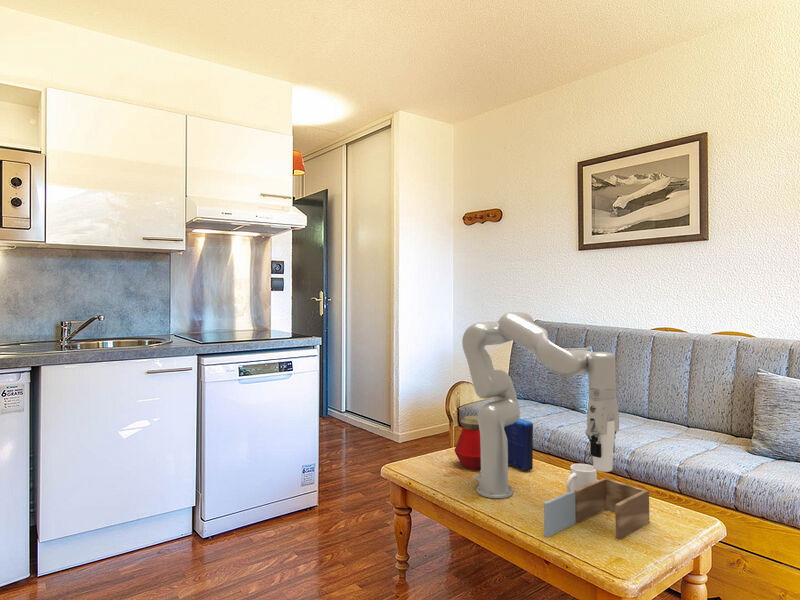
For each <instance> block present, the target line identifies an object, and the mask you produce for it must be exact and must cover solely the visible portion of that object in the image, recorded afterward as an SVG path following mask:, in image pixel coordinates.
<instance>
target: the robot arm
mask: <svg viewBox="0 0 800 600" xmlns="http://www.w3.org/2000/svg"><path fill="white" fill-rule="evenodd" d="M512 341H513V342H515V343H517V344H519V345H520V346H522V347H524V348H526V349H527V350H528V351H529V352H532V354H533V355H534V357H535V358H536V359H537V360H538V361H539V362H540V363H541V364H542V365H544V366H545V367H547V368H548V369H550V370H551V371H553V372H555V373H558V374H560V376H565V377H575V376H577V375H578V376H579V375H584V374H588V375H587V377H588V379H587V380H588V403H587V411H586V412H587V413H586V414H587V415H586V427H587V428H586V429H585V432H584V434H585V435H586V437H587V439H588V442H589V443H590V446H589V447H590V449H589V450H590V456H592V457H593V456H594V457H598V458H601V444H599V443H600V439H601V436H600V434H601V435H606V434H607V422H609V421H613V420H614V423H615V435H616V434H617V432H618V431H619V429H620V416H619V414H620V413H619V404H618V401H617V389H616V388H617V386H616V385H617V384H616V381H617V380H616V368H617V367H616V356H615V355H614V354H613V353H612V352H607V351H590V350H586V349H574V350H566V349H564V348H562V347H560V346H558V345H557V344H555V343H553V342H552V341H551V340H550V339H549V333H548V331H547V329H545V328H544V327H542V326H539V324H536V323H535V320H534V319H533V317H532V316H531V314H528V313H527V312H523V311H518V312H517V311H516V312H515V311H513V312H507V313H504V314H503V315H502V316H500V317H499V319H498V320H495V321H480V322H476V323H473V324H471V325H470V326H467V328H466V330H465V331H464V333H463V335H462V340H461V344H462V351H463V353H464V355H465V359H466V361H467V364H468V365H467V366H468V369H469V372H470V373H469V374H470V377H471V380H472V384H473V385H472V386H473V387H474V388H473V389H474V391H475V394H476V396H477V397H479V398H480V399H483V400H484V399H493V401H489V402H486V403H484V404H483V405H481V407H480V408H479V409H478V412H477V418H478V424H479V430H480V447H481V469H480V473H479V472H478V473H477V474H476V475H475V476H474V477H473V480H474V481H476V482H478V485H477V486H476V492H477V493H478V494H479V495H480V496H482V497H484V498H490V499H506V498H509V497H511V496H512V495H513V494H514V489H513V487H511V486H510V485H509V465H508V441H507V436H506V433H505V430H504V427H506V426H509V425H512V424H514V423H515V422H517V421H518V419H520V416H521V410H520V404H519V401H518V397H517V393H516V390H515V386H514V383H513V380H512V378H511V376H510V375H509V374H508V373H507V372H506V371H505V370H502V369H495V367H494V365H493V361H492V360H493V359H492V358H491V355H490V354H489V352H488V351H487V350H486V346H495V345H501V344H502V345H503V344H505V343H508V342H512ZM594 427H595V428H596V430H597V432H593V429H594ZM593 434H596V435H597V438H596V437H595V436H594V435H593ZM615 441H616V436H615V438H614V450H613V454H615V451H616V450H615V448H616V447H615Z"/></svg>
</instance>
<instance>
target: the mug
mask: <svg viewBox="0 0 800 600" xmlns="http://www.w3.org/2000/svg"><path fill="white" fill-rule="evenodd" d="M597 472H598V471H597V470H595V469H594V468H593V465H591V464H586V463H573V464H571V465H570V474H569V476H568V477H567V480H566V484H565V485H566V491H567V492H566V493H568V492H571V491H574V490H576V489H578V488H580V487H583V486H585V485H588V484H590V483H593V482H595V481H597V479H598V478H597V476H598V474H597Z"/></svg>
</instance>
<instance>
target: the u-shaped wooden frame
mask: <svg viewBox="0 0 800 600" xmlns="http://www.w3.org/2000/svg"><path fill="white" fill-rule="evenodd" d="M574 492H575V521H576V523H577V524H578V523H581V522H583V521H585V520H586V518H587V519H588V517H589V518H591V517H593V516H594V514H595V515H597V514H599V513H601V512H603V511H605V510H607V509H608V511H610V510H611V512H613V511H614V512H613V513H615V539H618V540H622V539H623V538H625V537H627V536H628V535H630V534H632V533H634V532H636V531H637V530H639V529H640V528H643V527H645V526H646V525H647V524H649V523H650V490H648V489H644V488H641V487H637V486H635V485H631V484H627V483H624V482H621V481H617V480H614V479H609V478H608V477H607V478H606V477H602V478H600V479H598V480H597V481H595V482H593V483H590V484H588V485H585V486H583V487H580V488H578V489H576V490H574ZM598 512H599V513H598ZM596 513H597V514H596ZM592 515H593V516H592ZM590 516H591V517H590ZM584 519H585V520H584Z"/></svg>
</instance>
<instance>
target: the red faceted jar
mask: <svg viewBox="0 0 800 600" xmlns="http://www.w3.org/2000/svg"><path fill="white" fill-rule="evenodd" d="M460 423H461V425H462V429H461V432H460V434H459V437H458V440H457V442H456V445H455V446H454V447H455V448H454V453H455V455H456V457H457V458H458V461H459V463H460V465H461V466H462V467H463V468H465V469H468V470H472V471H479V470H480V471H481V447H480V430H479V424H478V418H477V416H476V415H466V416H464V417H463V418H462V419H461V420H460Z"/></svg>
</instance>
